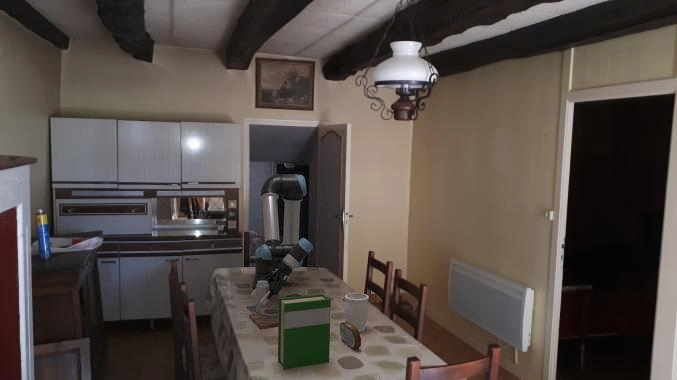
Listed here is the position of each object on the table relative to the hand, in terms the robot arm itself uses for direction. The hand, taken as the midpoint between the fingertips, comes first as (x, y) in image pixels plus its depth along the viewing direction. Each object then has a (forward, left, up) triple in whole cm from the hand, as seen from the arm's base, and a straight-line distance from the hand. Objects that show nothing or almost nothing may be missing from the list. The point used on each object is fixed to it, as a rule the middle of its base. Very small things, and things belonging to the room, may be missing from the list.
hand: (257, 299), depth 239 cm
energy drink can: (0, +3, -7) cm, 7 cm away
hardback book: (+59, -2, -7) cm, 60 cm away
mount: (+13, +3, -6) cm, 15 cm away
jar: (+38, +33, -7) cm, 50 cm away
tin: (+52, +22, -7) cm, 57 cm away
